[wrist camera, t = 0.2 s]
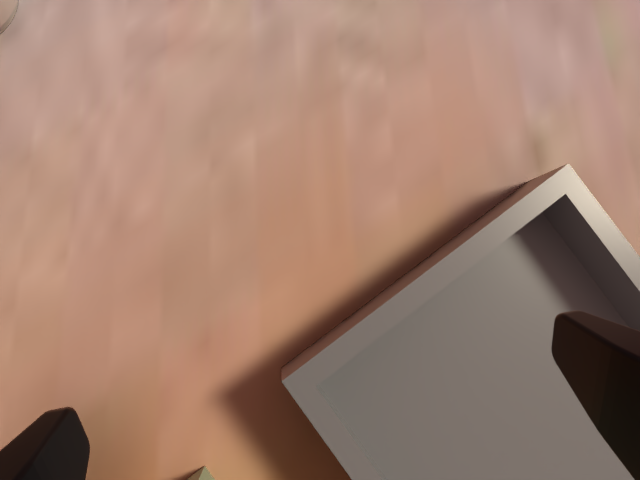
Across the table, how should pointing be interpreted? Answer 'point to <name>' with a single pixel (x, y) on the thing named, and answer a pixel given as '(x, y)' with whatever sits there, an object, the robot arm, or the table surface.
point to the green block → (201, 475)
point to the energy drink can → (7, 12)
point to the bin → (476, 350)
